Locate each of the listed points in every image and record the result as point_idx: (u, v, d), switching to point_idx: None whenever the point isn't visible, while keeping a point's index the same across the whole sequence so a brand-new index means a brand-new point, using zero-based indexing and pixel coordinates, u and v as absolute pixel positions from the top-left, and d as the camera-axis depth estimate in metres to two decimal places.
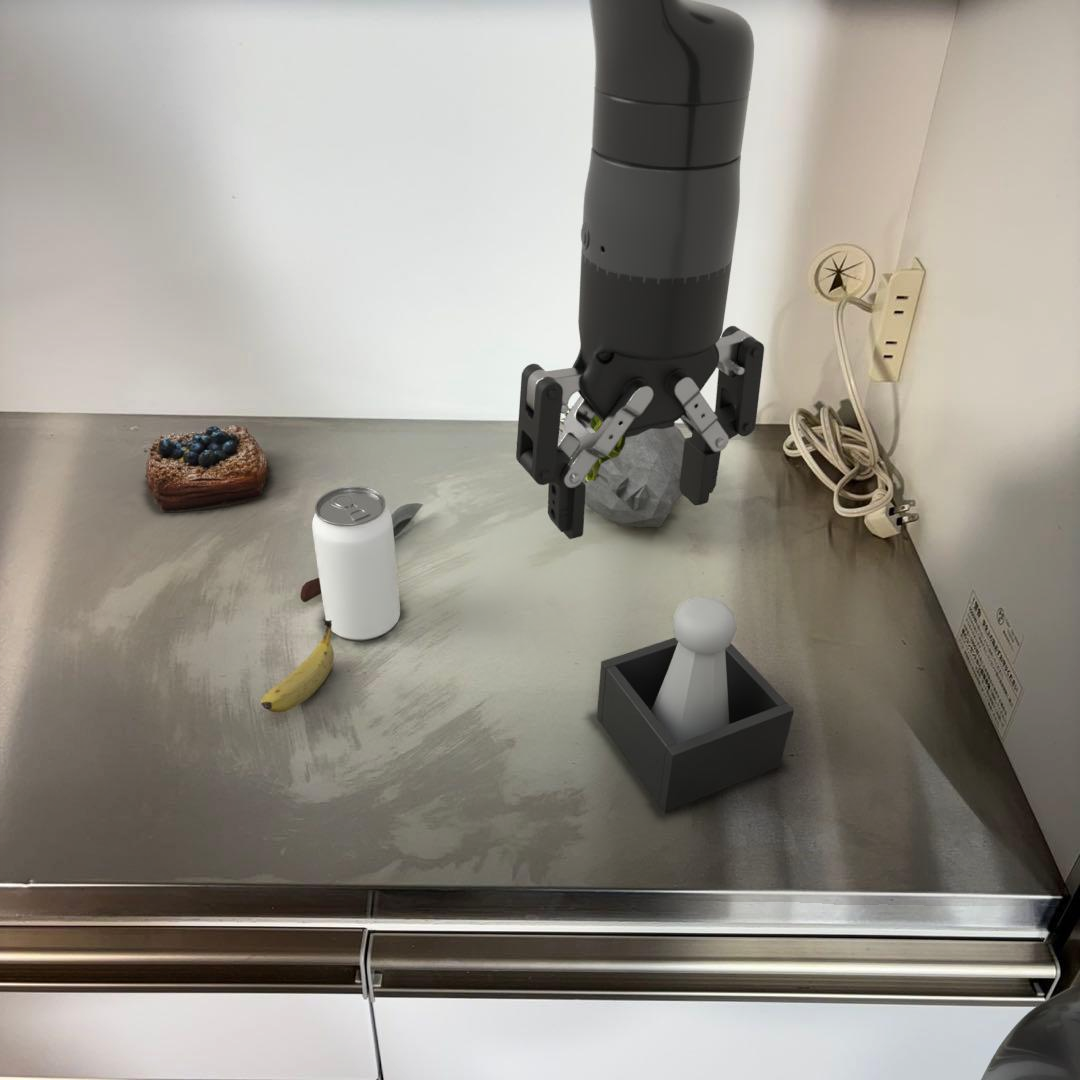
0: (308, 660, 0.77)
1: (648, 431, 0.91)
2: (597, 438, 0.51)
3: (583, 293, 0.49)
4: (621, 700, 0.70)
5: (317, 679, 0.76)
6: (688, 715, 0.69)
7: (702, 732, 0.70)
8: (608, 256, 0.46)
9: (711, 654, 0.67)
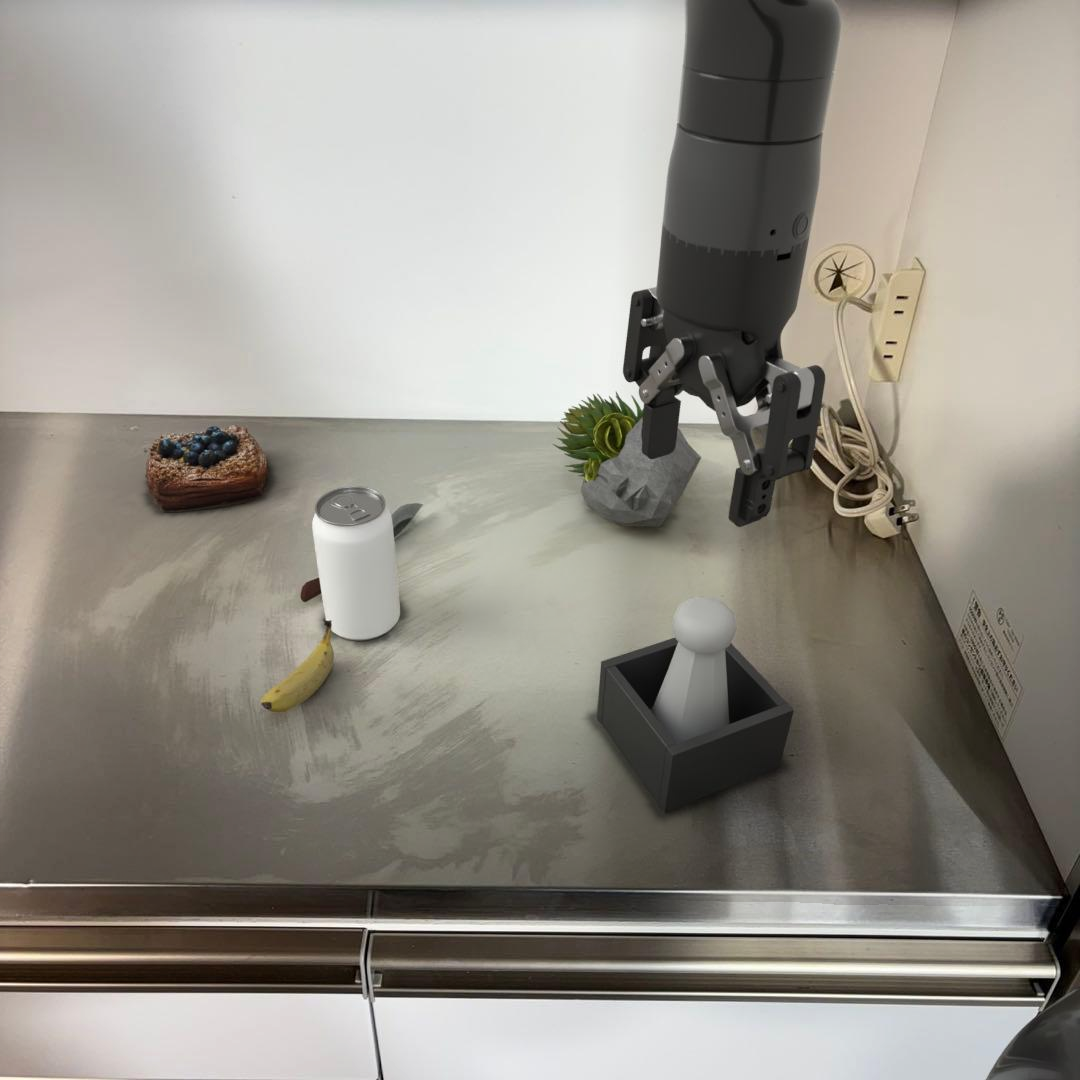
0: (308, 660, 0.77)
1: None
2: (653, 366, 0.57)
3: None
4: (621, 700, 0.70)
5: (317, 679, 0.76)
6: (688, 715, 0.69)
7: (702, 732, 0.70)
8: None
9: (711, 654, 0.67)
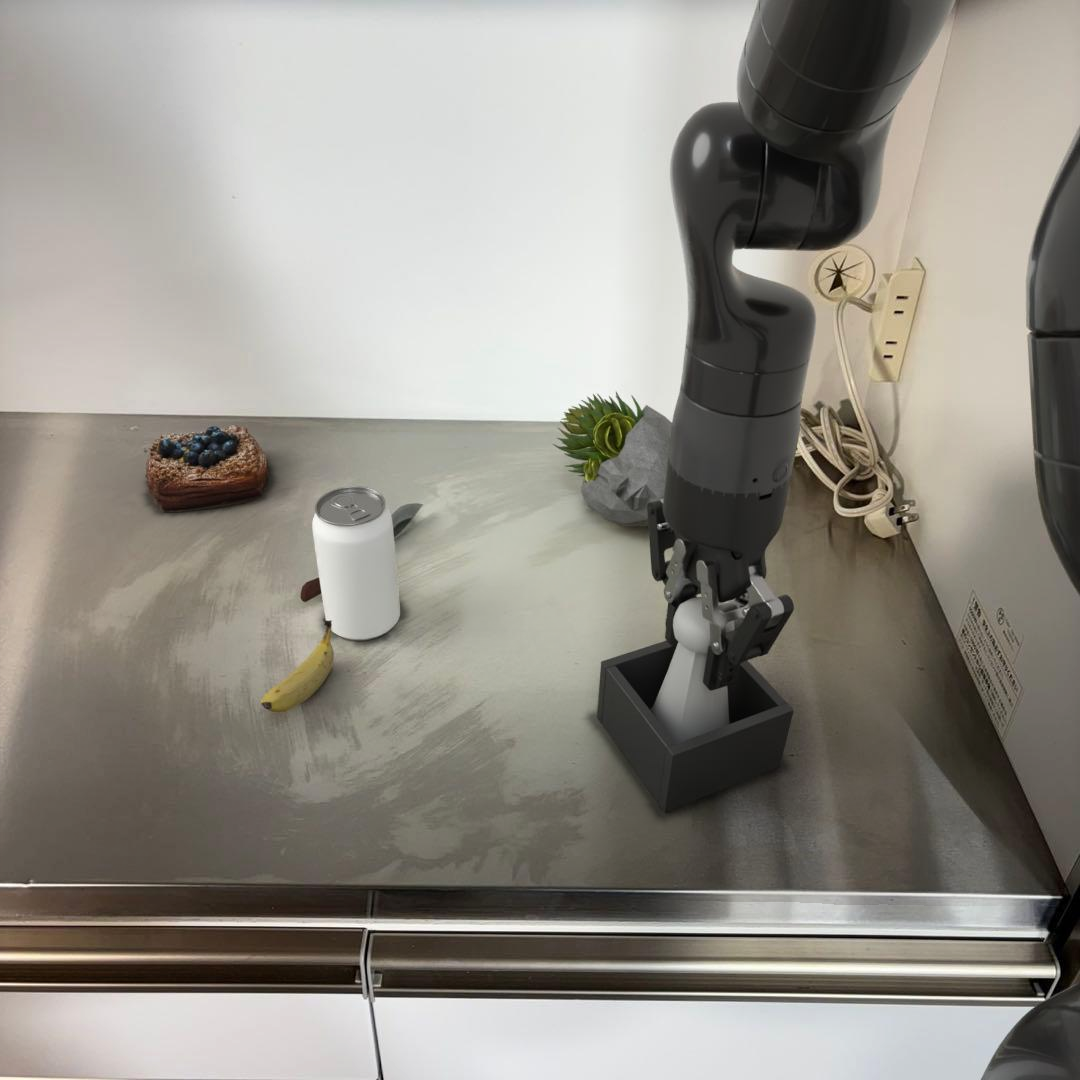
0: (308, 660, 0.77)
1: (648, 431, 0.91)
2: (669, 568, 0.66)
3: None
4: (621, 700, 0.70)
5: (317, 679, 0.76)
6: (688, 715, 0.69)
7: (702, 732, 0.70)
8: None
9: None
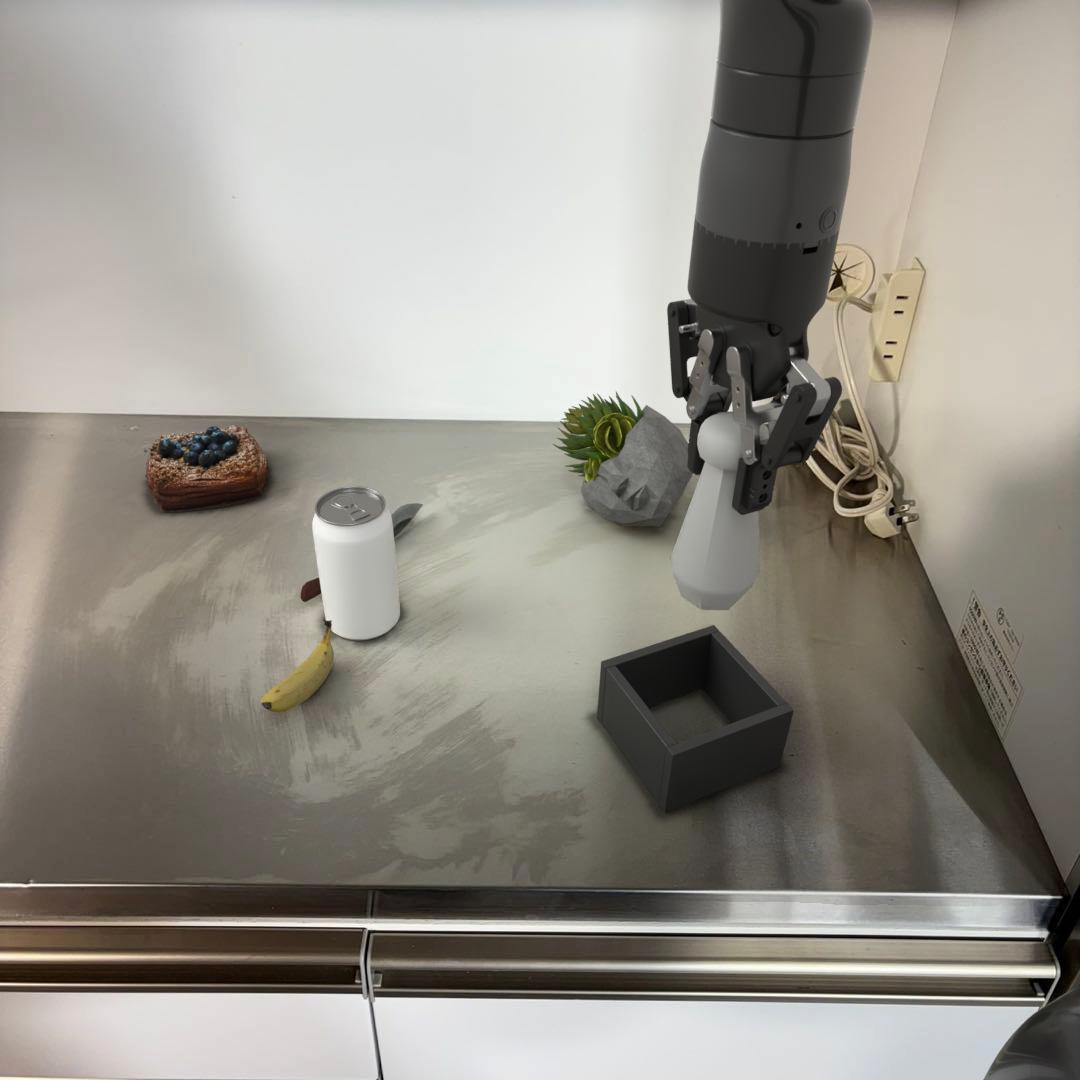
0: (308, 660, 0.77)
1: (648, 431, 0.91)
2: (693, 373, 0.58)
3: None
4: (621, 700, 0.70)
5: (317, 679, 0.76)
6: (714, 550, 0.61)
7: (730, 571, 0.61)
8: None
9: None
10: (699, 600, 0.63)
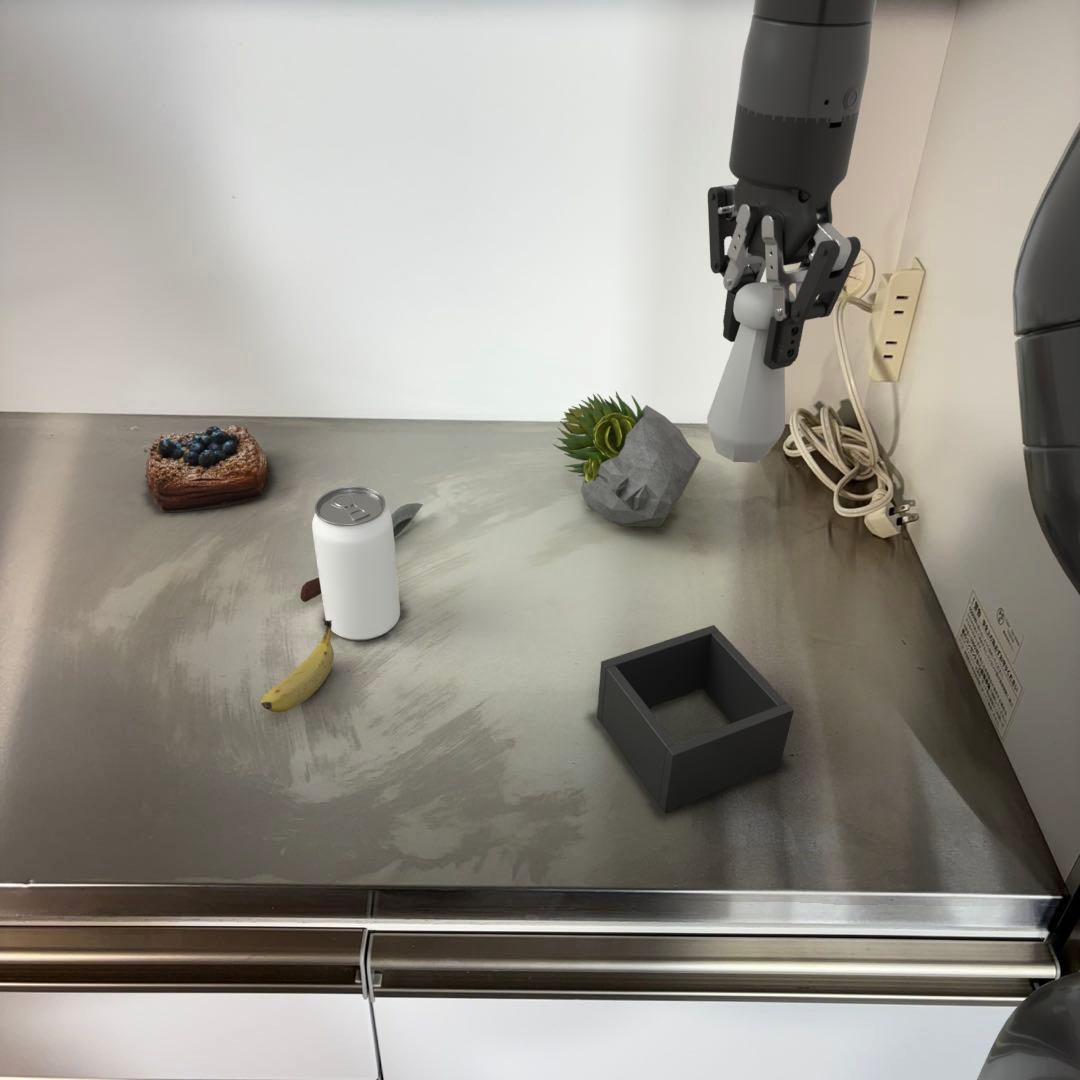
0: (308, 660, 0.77)
1: (648, 431, 0.91)
2: (730, 247, 0.68)
3: None
4: (621, 700, 0.70)
5: (317, 679, 0.76)
6: (747, 404, 0.70)
7: (760, 423, 0.71)
8: None
9: None
10: (732, 452, 0.73)
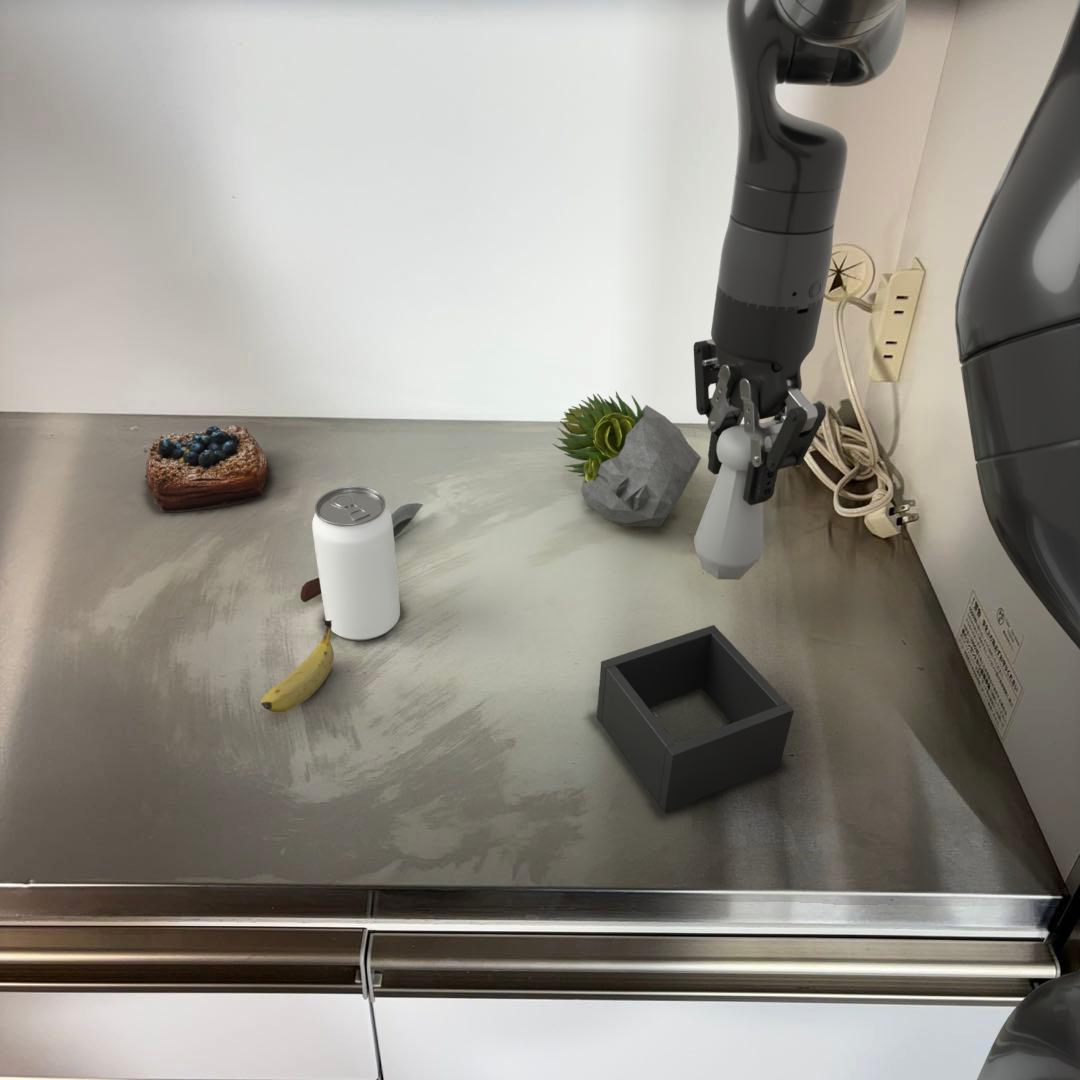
0: (308, 660, 0.77)
1: (648, 431, 0.91)
2: (713, 397, 0.76)
3: None
4: (621, 700, 0.70)
5: (317, 679, 0.76)
6: (728, 532, 0.79)
7: (741, 548, 0.79)
8: None
9: None
10: (716, 571, 0.81)
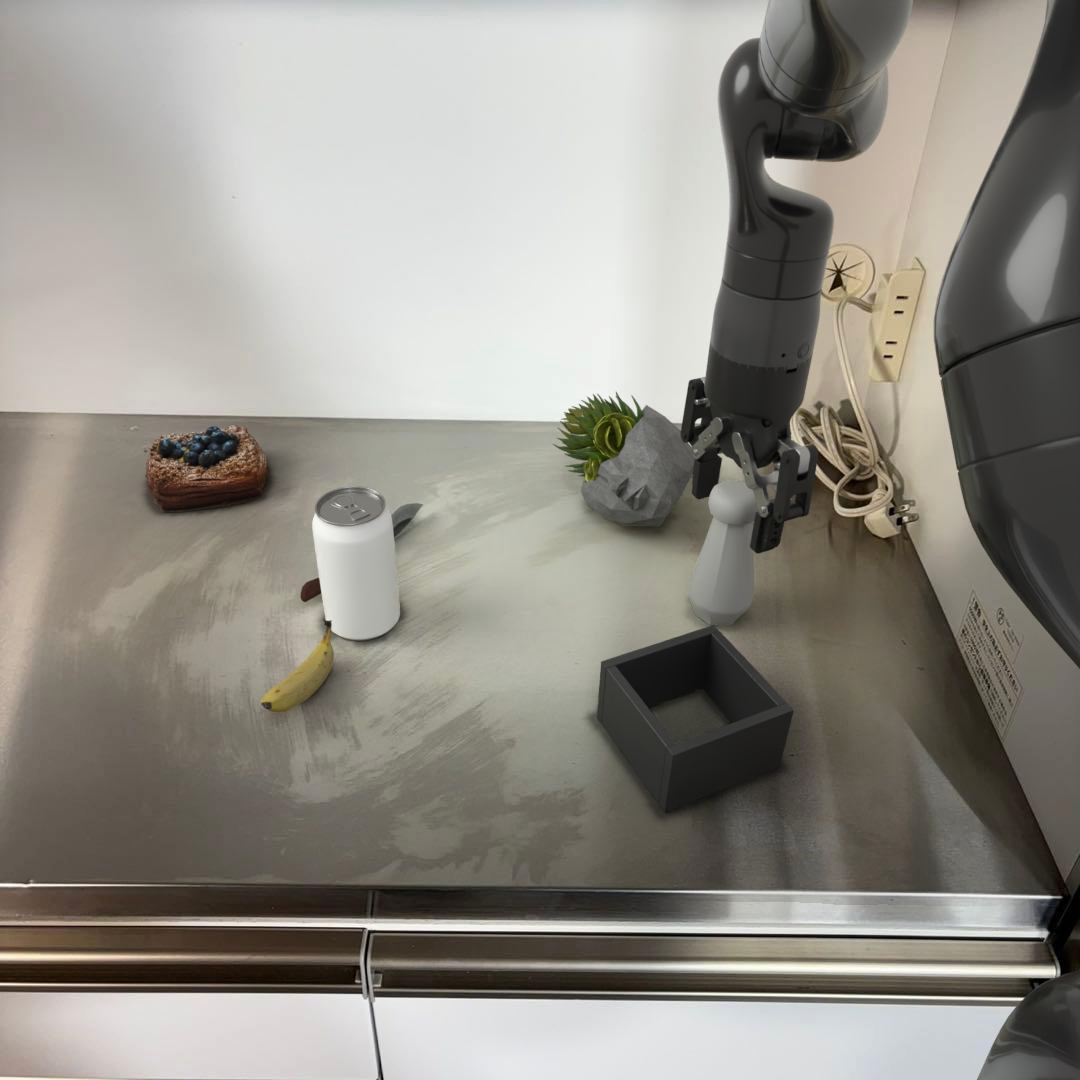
0: (308, 660, 0.77)
1: (648, 431, 0.91)
2: (701, 434, 0.79)
3: None
4: (621, 700, 0.70)
5: (317, 679, 0.76)
6: (720, 582, 0.82)
7: (732, 597, 0.82)
8: None
9: (741, 526, 0.79)
10: (709, 618, 0.84)
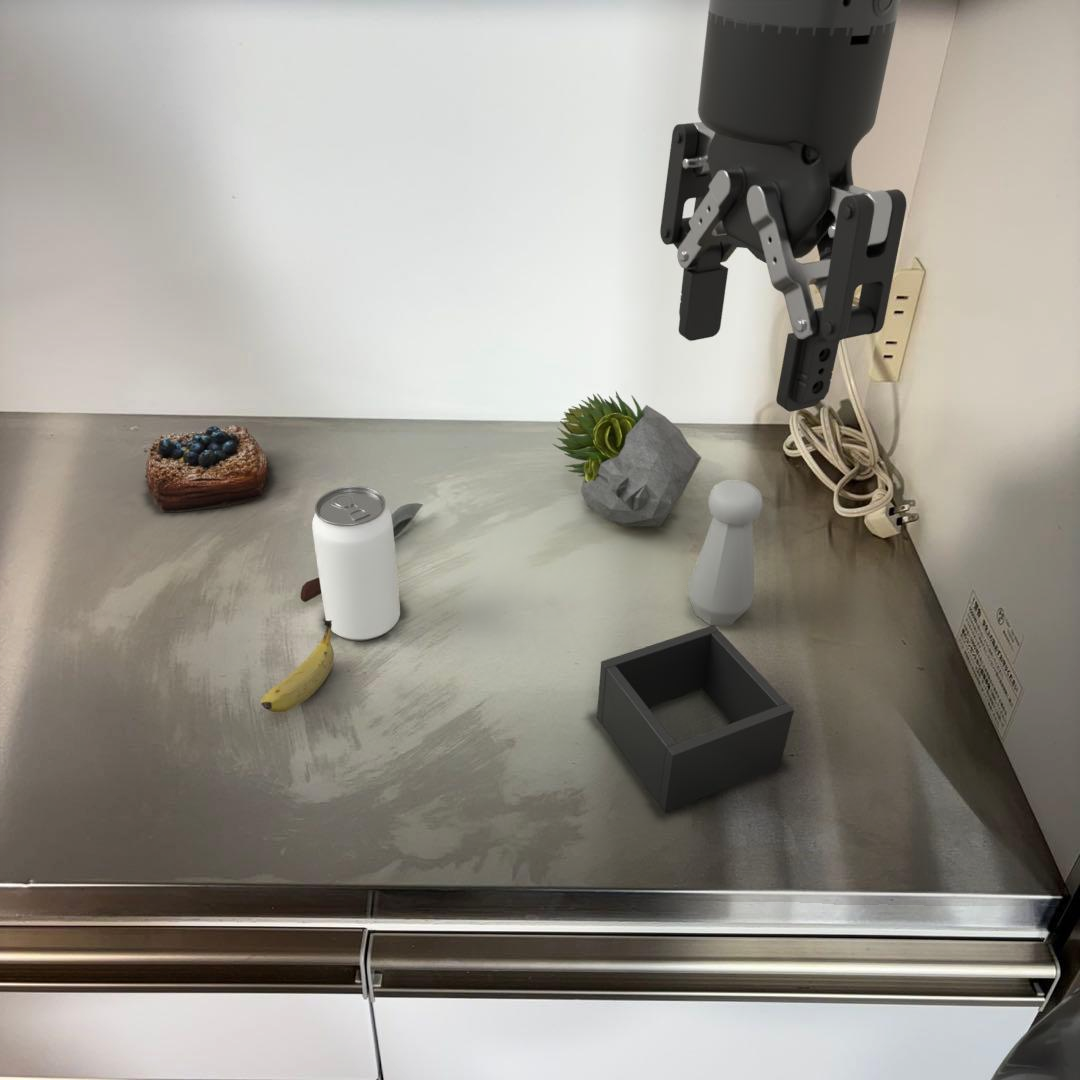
0: (308, 660, 0.77)
1: (648, 431, 0.91)
2: (694, 215, 0.47)
3: None
4: (621, 700, 0.70)
5: (317, 679, 0.76)
6: (720, 582, 0.82)
7: (732, 597, 0.82)
8: None
9: (741, 526, 0.79)
10: (709, 618, 0.84)
